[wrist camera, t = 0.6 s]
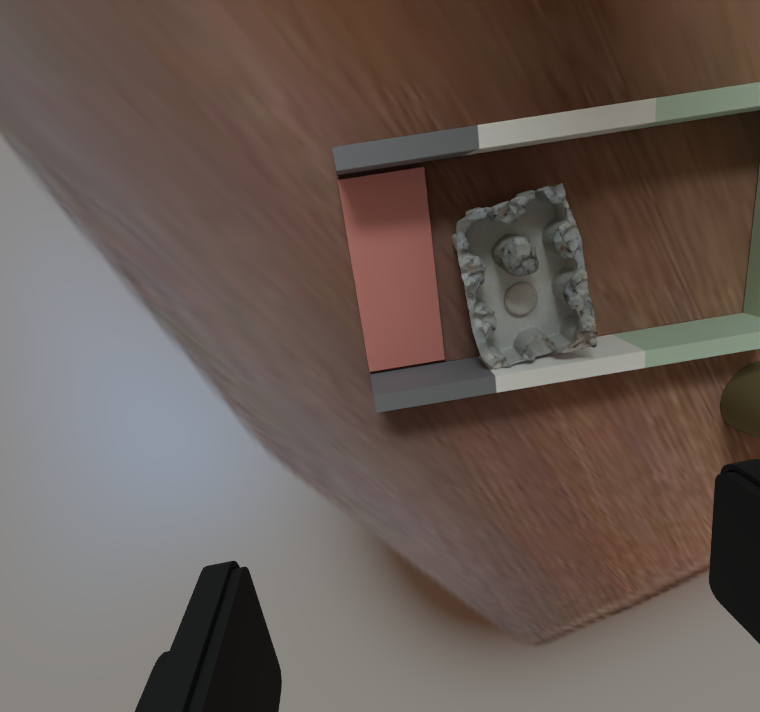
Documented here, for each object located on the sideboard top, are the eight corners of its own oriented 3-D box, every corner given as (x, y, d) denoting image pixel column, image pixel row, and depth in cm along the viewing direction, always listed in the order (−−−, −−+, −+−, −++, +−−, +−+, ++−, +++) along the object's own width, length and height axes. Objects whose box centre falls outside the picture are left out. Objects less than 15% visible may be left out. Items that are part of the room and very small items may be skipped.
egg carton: (576, 333, 33) (603, 354, 29) (472, 359, 33) (485, 382, 29) (559, 178, 29) (586, 178, 25) (442, 210, 30) (451, 215, 26)
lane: (333, 154, 28) (331, 147, 25) (786, 85, 29) (852, 68, 25) (372, 389, 34) (376, 412, 30) (756, 325, 34) (807, 340, 31)
